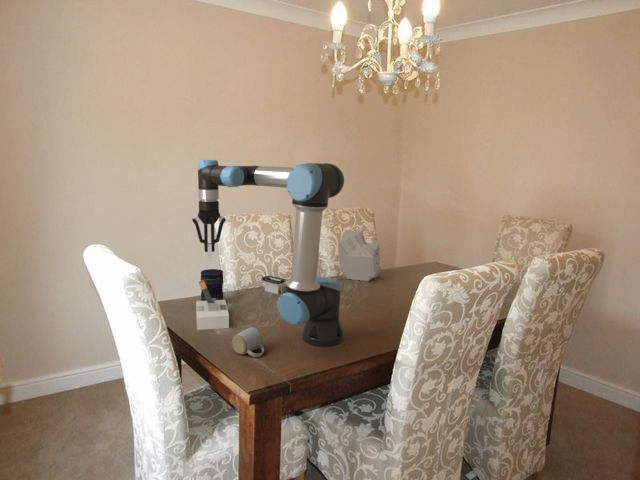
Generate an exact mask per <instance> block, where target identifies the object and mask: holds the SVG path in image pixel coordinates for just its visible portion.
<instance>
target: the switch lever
mask: <svg viewBox="0 0 640 480" xmlns="http://www.w3.org/2000/svg"><path fill="white" fill-rule="evenodd" d="M198 285H199V287H200V289H201V292H203V294H204V296H205V298H206V301H207V303H213V300H212V298H211V296H210V294H209V291H208V289H207V286H206V284H205V282H204V280H202V281H201V280H200V281H198Z"/></svg>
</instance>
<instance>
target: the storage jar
mask: <svg viewBox="0 0 640 480" xmlns="http://www.w3.org/2000/svg"><path fill="white" fill-rule="evenodd" d="M202 280H204V282H205V284H206V286H207V289H208V291H209V294H210V296H211V298H215V300H224V291H223V290H224V289H223V288H224V286H223V284H224V271H223V270H222V269H217V268H216V269H215V268H209V269H203V270H201V271H200V281H202ZM200 301H206V298H205V296H204V294H203V292H202V291H201V292H200Z"/></svg>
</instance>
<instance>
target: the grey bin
mask: <svg viewBox="0 0 640 480" xmlns="http://www.w3.org/2000/svg"><path fill="white" fill-rule="evenodd" d="M266 273H267V272H266V271H265V272H264V276H263V277H261V281H264V292H268V293H270V294H275V295H280V294H283V283H286V282H287V279H285V278H280V277H276V276H272V275H267V274H266Z"/></svg>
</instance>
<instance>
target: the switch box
mask: <svg viewBox="0 0 640 480" xmlns="http://www.w3.org/2000/svg"><path fill="white" fill-rule="evenodd" d="M212 300H213V303H207V301H201V300H197V301H196V302H195V303H196V304H195V305H196V306H195V308H196V310H195V311H196V313H195V314H196V330H197V331H204V330H219V329H230V314H229V310H228V305H227V302H226V299H223V300H215V298H212Z"/></svg>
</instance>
